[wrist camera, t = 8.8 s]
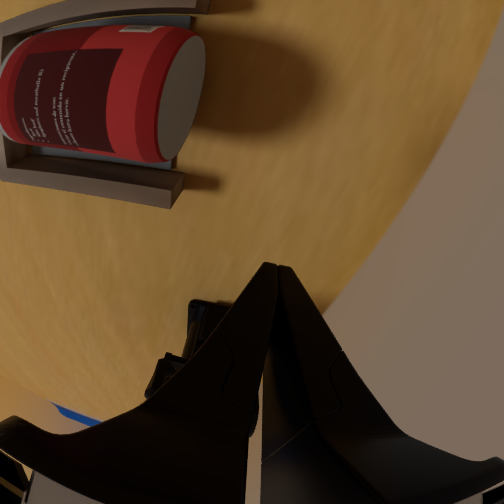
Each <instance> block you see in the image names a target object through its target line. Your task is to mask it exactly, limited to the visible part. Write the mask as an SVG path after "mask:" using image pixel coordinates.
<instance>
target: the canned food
mask: <svg viewBox="0 0 504 504" xmlns="http://www.w3.org/2000/svg"><path fill="white" fill-rule="evenodd" d="M205 61H206V56H205V46H204V43H203V40H202V38H201V37H200V36H199V34H197V33H194V32H192V31H189V30H187V29H184V28H181V27H172V26H154V25H107V26H90V27H78V28H69V29H61V30H54V31H50V32H44V33H40V34H37V35H34V36H31V37H28V38H26V39H25V40H23V41H21V42H20V43H19V44H17V45H16V46H15V47H14V48H13V49H12V50H11V51H10V53H9V54H8V55H7V57H6V58H5V59H4V61H3V63H2V65H1V67H0V131H1V132H2V133H3V135H4V136H6V137H7V138H8V139H10V140H12V141H15V142H18V143H21V144H28V145H34V146H42V147H50V148H58V149H66V150H73V151H80V152H86V153H93V154H99V155H105V156H111V157H117V158H123V159H128V160H134V161H139V162H145V163H162V162H168V161H170V160H171V159H173V158H174V157H175V156H176V155H177V154H178V152H179V151H180V149H181V148H182V146H183V144H184V142H185V140H186V138H187V136H188V134H189V131H190V129H191V126H192V123H193V120H194V117H195V114H196V111H197V107H198V104H199V100H200V96H201V91H202V86H203V80H204V73H205Z"/></svg>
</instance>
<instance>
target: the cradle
mask: <svg viewBox="0 0 504 504" xmlns="http://www.w3.org/2000/svg"><path fill="white" fill-rule="evenodd" d="M210 2H211V0H67V1H63V2H60V3H56V4H52V5H49V6H46V7H42V8H39V9H36V10H33V11H30V12H27V13H25V14H22V15H19V16H16V17H14V18H11V19H9V20H6V21H4V22H2V23H0V67H1V65H2V63H3V61H4V59H5V58H6V57H7V55H8V54H9V53H10V51H11V50H12V49H13V48H14V47H15V46H16V45H17V44H19V43H20V42H21V41H23V40H25V39H26V38H27V33H30V32H34V31H37V30H41V29H45V28H49V27H53V26H57V25H62V24H67V23H72V22H77V21H83V20H89V19H96V18H103V17H112V16H121V15H134V14H157V13H182V14H205V15H208V11H209V7H210ZM0 179H1V181H4V182H11V183H18V184H25V185H31V186H38V187H44V188H51V189H57V190H63V191H69V192H76V193H82V194H88V195H93V196H99V197H105V198H111V199H117V200H122V201H128V202H133V203H139V204H144V205H150V206H155V207H160V208H166V209H171V208H172V206H173V204H174V203H175V201H176V200H177V198H178V197H179V195H180V194H181V192H182V191H183V183H184V173H181V172H175V171H169V170H163V169H156V168H150V167H143V166H136V165H129V164H121V163H113V162H105V161H97V160H88V159H78V158H68V157H57V156H45V155H31V154H28V151H27V144H21V143H18V142H15V141H12V140H10V139H8V138H7V137H6V136H4V135H3V133H2V132H1V131H0Z"/></svg>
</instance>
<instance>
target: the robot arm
mask: <svg viewBox="0 0 504 504" xmlns="http://www.w3.org/2000/svg"><path fill="white" fill-rule="evenodd" d="M262 373H263V407H262V408H263V409H262V411H263V412H262V458H261V460H262V461H261V462H262V464H261V495H260V504H504V484H502V485H500V486H498V487H495V488H493V489H491V490H489V491H486V492H484V493H482V491H484V490H486V489H488V488H490V487H492V486H494V485H496V484H498V483H500V482H502V481H503V480H504V460H502V459H501V458H499V457H492V458H490V459H487V460H485V461H471V460H467V459H464V458H461V457H458V456H455V455H453V454H450V453H448V452H445V451H443V450H440V449H438V448H435V447H433V446H431V445H428V444H426V443H424V442H421V441H419V440H417V439H415V438H412V437H410V436H408V435H407V434H405V433H404V432H403V431H402V430H400V429H399V428H398V427H397V426H396V424H394V422H393V421H392V420H391V418H390V417H389V416H388V414H387V413H386V412H385V410H384V409H383V408H382V406H381V405H380V404H379V402H378V401H377V400H376V398H375V397H374V396H373V394H372V393H371V392H370V390H369V389H368V388H367V386H366V385H365V384H364V382H363V381H362V379H361V378H360V376H359V375H358V373H357V372H356V370H355V369H354V367H353V366H352V364H351V363H350V361H349V359H348V358H347V356H346V354H345V353H344V351H342V348H341V346H340V345H339V343H338V341H337V340H336V338H335V337H334V335H333V333H332V332H331V330H330V328H329V327H328V325H327V323H326V322H325V320H324V319H323V317H322V315H321V314H320V312H319V310H318V309H317V307H316V306H315V304H314V302H313V301H312V299H311V298H310V296H309V294H308V293H307V291H306V290H305V288H304V286H303V285H302V283H301V282H300V280H299V279H298V277H297V275H296V274H295V272H294V271H293V269H292V268H291V267H288V266H284V265H278V266H277V265H276V264H274V263H269V262H264V263H263V264H262V265H261V266H260V268H259V269H258V271H257V272H256V273H255V275H254V276H253V277H252V279H251V280H250V282H249V283H248V284H247V286H246V287H245V288H244V290H243V291H242V293H241V294H240V295H239V297H238V298H237V299H236V301H235V302H234V304H233V305H232V306H231V308H228V307H223V306H218V305H213V304H209V303H204V302H199V301H195V300H191V301H190V302H189V305H188V325H187V339H186V343H185V346H184V350H183V353H182V357H179V356H175V355H172V353H168V352H166V354H165V357H164V359H163V358H162V359H159V360H158V363H157V366H156V369H155V372H154V374H153V376H152V378H151V380H150V382H149V384H148V386H147V388H146V390H145V394H144V396H145V397H146V399H147V400H146V401H145V402H143V403H142V404H140V405H139V406H137V407H136V408H134V409H132V410H130V411H128V412H125V413H123V414H121V415H118V416H116V417H114V418H111V419H109V420H106V421H104V422H102V423H99V424H97V425H94V426H92V427H89V428H87V429H84V430H81V431H79V432H76V433H72V434H63V435H62V434H61V435H59V434H53V433H50V432H47V431H44V430H42V429H41V428H39V427H37V426H35V425H33V424H32V423H30V422H28V421H26V420H24V419H22V418H20V417H18V416H11V417H9V418H7V419H5V420H3V421H1V422H0V449H2V450H3V451H4V452H6V453H7V454H9V455H10V456H12V457H13V458H15V459H16V460H18V461H19V462H21V463H23V464H24V465H26V466H27V467H29V468H31V469H33V471H32V475H31V478H30V481H28V478H27V476H26V474H25V472H24V469H23V467H22V465H21V464H20V463H19V462H17V461H16V460H14V459H13V458H11V457H9V456H8V455H7V454H5V453H4V452H2V451H1V450H0V504H245V492H246V476H247V459H248V443H249V437H251V436H252V434H253V433H254V430H255V427H256V424H257V420H258V413H259V396H258V391H259V386H260V382H261V378H262Z"/></svg>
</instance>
